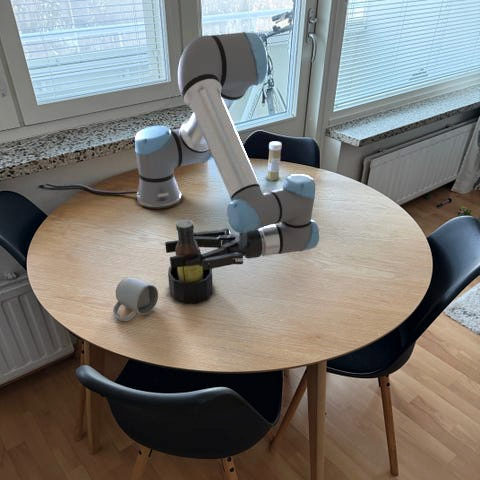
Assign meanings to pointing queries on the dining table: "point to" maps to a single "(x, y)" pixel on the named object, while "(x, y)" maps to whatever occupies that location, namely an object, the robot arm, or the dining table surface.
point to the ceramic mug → (135, 297)
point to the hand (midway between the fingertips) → (168, 254)
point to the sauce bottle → (187, 251)
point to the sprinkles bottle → (274, 160)
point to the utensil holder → (190, 287)
